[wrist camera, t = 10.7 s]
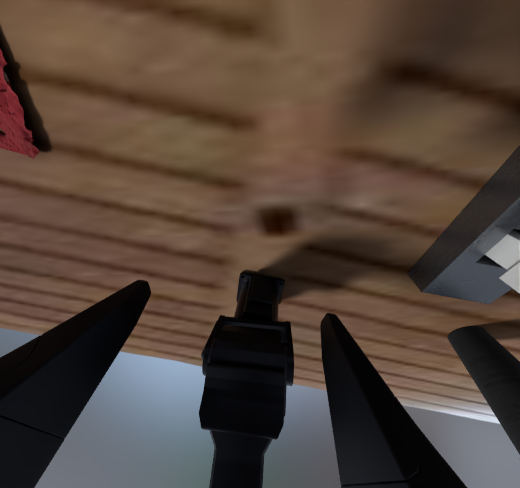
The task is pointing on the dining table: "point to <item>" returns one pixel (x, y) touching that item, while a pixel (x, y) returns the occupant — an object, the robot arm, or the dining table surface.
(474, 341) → the drinking cup
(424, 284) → the rail
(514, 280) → the clip
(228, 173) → the dining table surface
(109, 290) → the dining table surface
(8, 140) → the plate with food
